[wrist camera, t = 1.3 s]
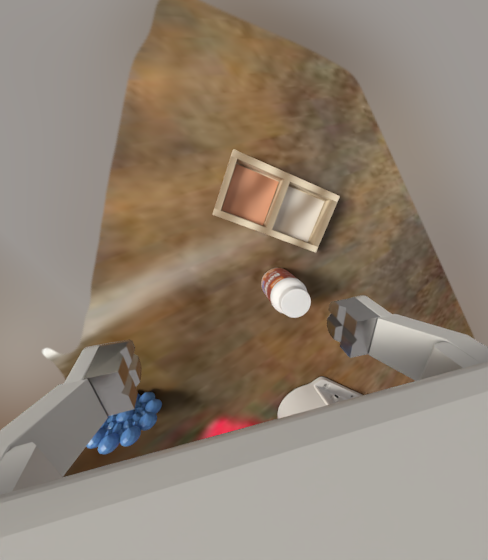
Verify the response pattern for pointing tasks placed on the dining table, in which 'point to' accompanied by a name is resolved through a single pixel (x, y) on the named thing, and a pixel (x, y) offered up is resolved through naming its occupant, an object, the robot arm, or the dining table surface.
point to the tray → (274, 202)
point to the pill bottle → (286, 292)
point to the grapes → (127, 424)
